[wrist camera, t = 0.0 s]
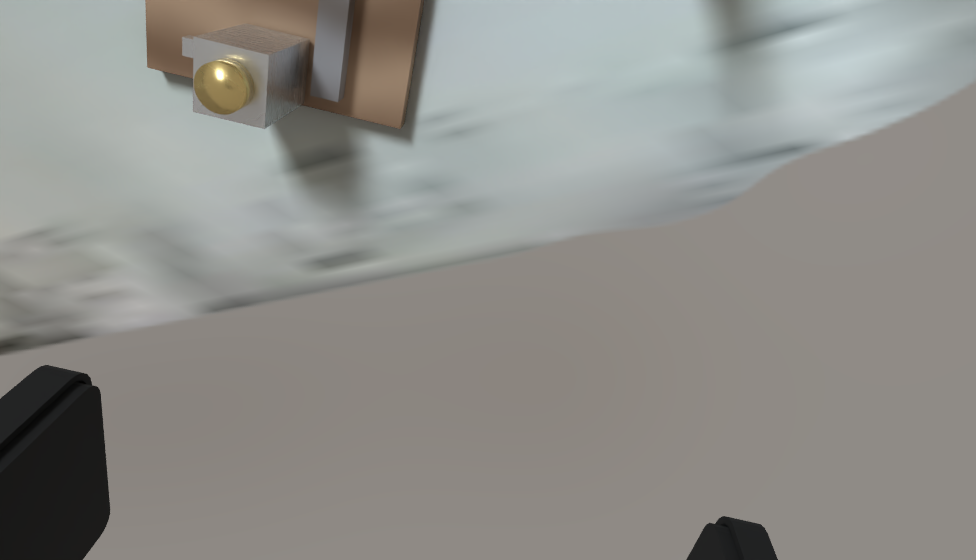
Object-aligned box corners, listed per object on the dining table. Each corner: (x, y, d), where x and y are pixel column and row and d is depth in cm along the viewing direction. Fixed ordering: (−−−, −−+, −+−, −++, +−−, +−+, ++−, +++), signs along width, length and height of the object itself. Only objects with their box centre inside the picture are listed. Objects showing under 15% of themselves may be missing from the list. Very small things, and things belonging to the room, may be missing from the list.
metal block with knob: (192, 9, 35) (114, 23, 29) (309, 39, 35) (258, 58, 29) (191, 75, 37) (118, 102, 30) (304, 103, 37) (255, 135, 31)
